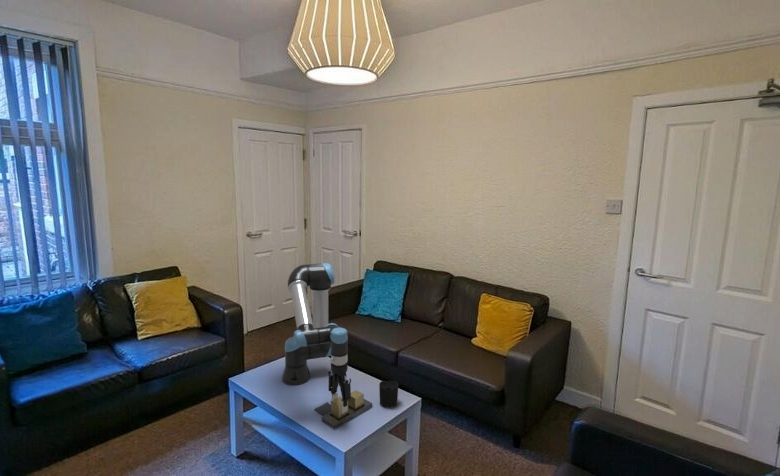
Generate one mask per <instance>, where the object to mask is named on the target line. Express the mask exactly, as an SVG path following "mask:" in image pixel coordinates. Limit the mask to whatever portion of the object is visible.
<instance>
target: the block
mask: <svg viewBox="0 0 780 476" xmlns="http://www.w3.org/2000/svg"><path fill="white" fill-rule="evenodd" d="M364 399H365V398H364V393H363V392H360V391H359V390H357V389H354V390H353V391H351V399H349V400H347V401H348V408H350V409H352V410H353V411H357V410H359V409H360V408H362V407H364Z"/></svg>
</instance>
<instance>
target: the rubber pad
mask: <svg viewBox="0 0 780 476" xmlns="http://www.w3.org/2000/svg"><path fill="white" fill-rule="evenodd" d="M313 410H314V412H316V413H318V414H319V415H321V416H322V417H323V416H325V415H326V414H328V413H330V412H331V403H330V402H325V403H323V404H321V405H319V406H318V407H316V408H314V409H313Z"/></svg>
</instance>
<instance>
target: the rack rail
mask: <svg viewBox="0 0 780 476" xmlns="http://www.w3.org/2000/svg"><path fill="white" fill-rule="evenodd" d="M372 408H373V403H372V402H370V401H369V400H367V399H365V398H364V407H362V408H360V409H359V410H357V411H353V410H352V409H350V408H348V416H347V417H345V418H343V419H341V420H340V421H338V420H337V419H335V418H333V417H332V416H331V412H330V413H328V414H326V415H325V416H323V415H322V416H321V422H322V423H324V424H325V425H327V426H329V427H330V428H332V429H333V430H336V429H337V428H339V427H341V426H343V425H345V424H346V423H347V422H350V421H351V420H353V419H354V418H356V417H357V416H359V415H361V414H363V413H365V412H367V411H368V410H370V409H372Z"/></svg>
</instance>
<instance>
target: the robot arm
mask: <svg viewBox="0 0 780 476" xmlns="http://www.w3.org/2000/svg"><path fill="white" fill-rule="evenodd" d="M334 284H335V274H334V270H333V267H332V265H331V264H330V263H327V262H326V263H325V262H323V263H322V262H321V263H312V264H310V263H309V264H301V265H298V266H297V267H295V268H294V269H293V270H292V272H290V275H289V276H288V280H287V289H288V291H289V292H290V294H291V299H292V305H293V311H294V319H295V325H296V330H295V331H294V332H293V336H291V337H289V338H288V339H286V341H285V342H284V357H285V358H284V359H285V360H284V362H285V363H284V364H285V366H284V369H283V374H282V377H281V378H282V382H283V383H284V384H285V385H287V386H288V385H290V386H298V385H299V386H300V385H303V384H305V383H307V382H309V380H310V378H311V371H310V369H309V366H308V362H307V361H309V360H316V359H322V358H326V357H327V358H328V357H330V370H329V371H327V374H328V392H330V394H331V401H332V400H334V399H336V398H338V397H339V393H338V388H339V387H340V394H341V397H342V400H341V413H342V414H343V413H344V412H346V411H347V400H349V399H351V392H352V391H351V389H352V388H351V387H352V386H351V383H352V379H351V378H348V376H347V372H348V366H349V365H348V362H349V361H348V357H349V356H348V354H349V353H348V342H349V341H348V337H349V336H348V330H347V329H346V328H344V327H340V326H338V325H337V324H336V323H333V322H331V323H329V290H331V289H332V285H334ZM308 287H309V289H310V291H311V292H312V312H311V308H310V302H309V299H308V294H307V293H308V292H307V288H308ZM338 386H339V387H338Z"/></svg>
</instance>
